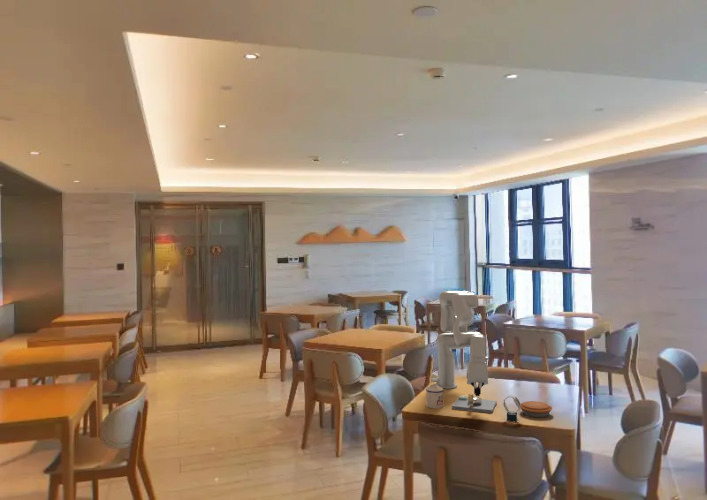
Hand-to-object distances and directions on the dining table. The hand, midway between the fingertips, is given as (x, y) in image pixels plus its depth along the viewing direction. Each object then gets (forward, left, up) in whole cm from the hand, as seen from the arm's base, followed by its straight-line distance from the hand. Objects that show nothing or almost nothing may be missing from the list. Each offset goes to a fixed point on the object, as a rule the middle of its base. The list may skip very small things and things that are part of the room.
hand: (477, 395), depth 265 cm
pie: (+28, +5, -8) cm, 29 cm away
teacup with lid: (-21, +1, -8) cm, 23 cm away
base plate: (-2, +7, -8) cm, 11 cm away
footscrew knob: (-3, +4, -6) cm, 7 cm away
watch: (+18, -8, -8) cm, 21 cm away
